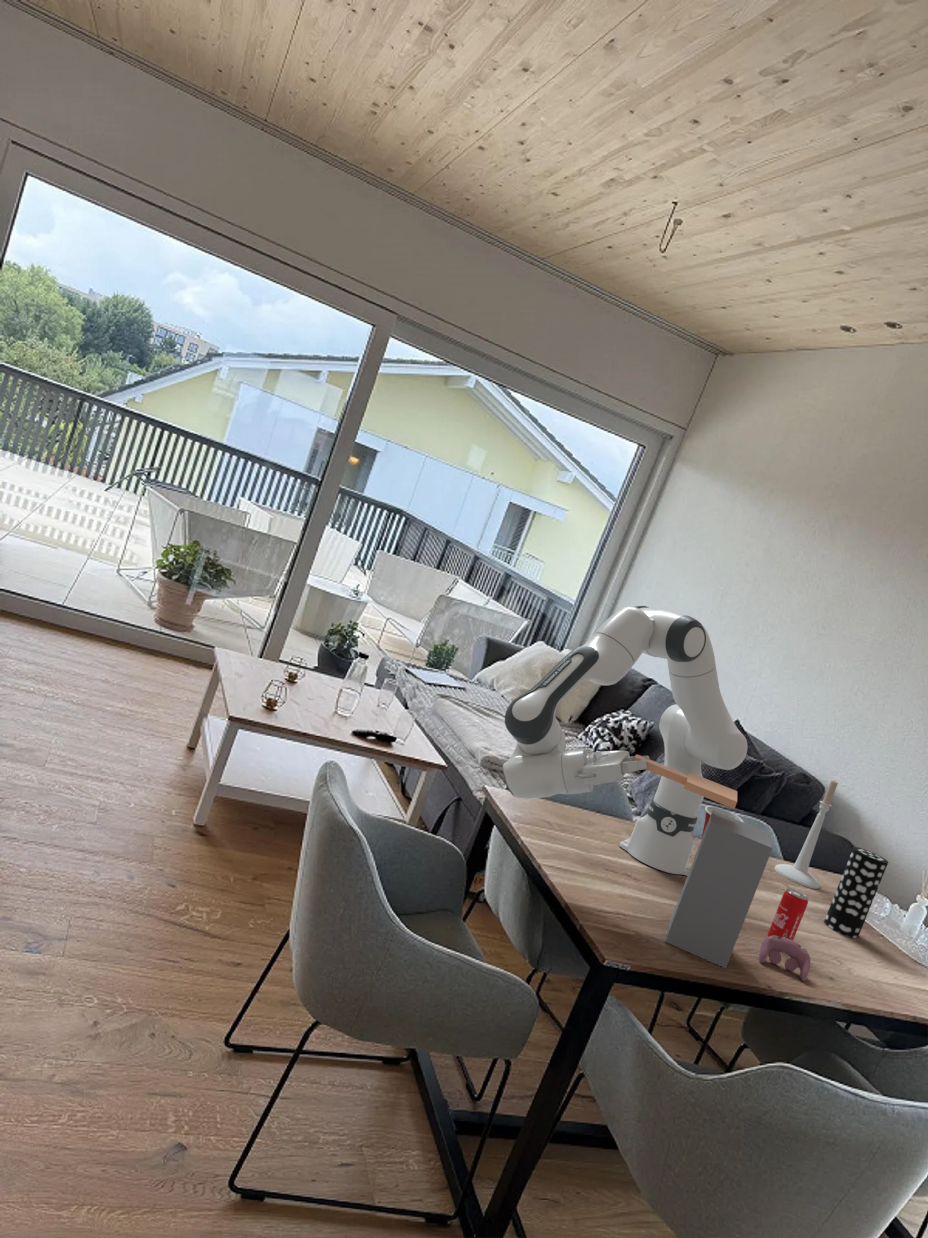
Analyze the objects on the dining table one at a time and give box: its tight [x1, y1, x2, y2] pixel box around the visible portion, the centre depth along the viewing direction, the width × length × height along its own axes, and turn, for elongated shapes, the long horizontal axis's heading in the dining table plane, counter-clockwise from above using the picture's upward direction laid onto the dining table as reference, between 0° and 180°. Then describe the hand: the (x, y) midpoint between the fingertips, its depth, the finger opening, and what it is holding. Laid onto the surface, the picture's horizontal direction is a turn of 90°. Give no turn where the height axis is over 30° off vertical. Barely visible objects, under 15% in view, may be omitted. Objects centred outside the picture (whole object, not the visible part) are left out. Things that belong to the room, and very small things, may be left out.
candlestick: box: [774, 780, 839, 890], centre depth 269 cm, size 13×13×30 cm
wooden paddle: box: [633, 754, 738, 810], centre depth 190 cm, size 12×21×2 cm, turn 72°
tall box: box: [665, 810, 774, 969], centre depth 188 cm, size 13×12×25 cm
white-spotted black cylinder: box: [823, 846, 889, 939], centre depth 233 cm, size 8×8×20 cm
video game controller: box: [758, 936, 811, 982], centre depth 192 cm, size 10×5×7 cm, turn 72°
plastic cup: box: [701, 805, 745, 837], centre depth 263 cm, size 11×11×12 cm
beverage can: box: [767, 888, 809, 941], centre depth 206 cm, size 5×5×12 cm
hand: (648, 762), depth 192 cm, fingers closed on wooden paddle, 4 cm apart
